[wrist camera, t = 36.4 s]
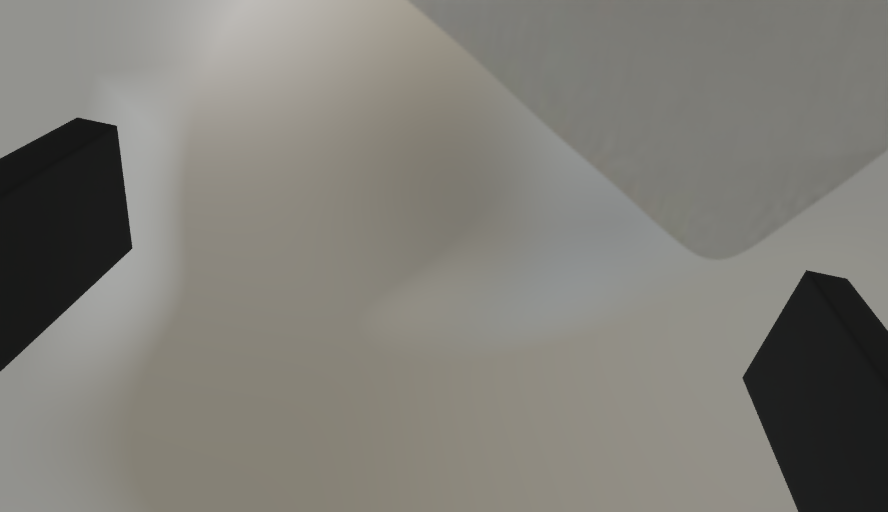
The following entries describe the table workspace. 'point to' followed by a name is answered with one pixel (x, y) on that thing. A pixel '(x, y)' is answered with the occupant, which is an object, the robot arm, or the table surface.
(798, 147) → the table surface
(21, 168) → the robot arm
